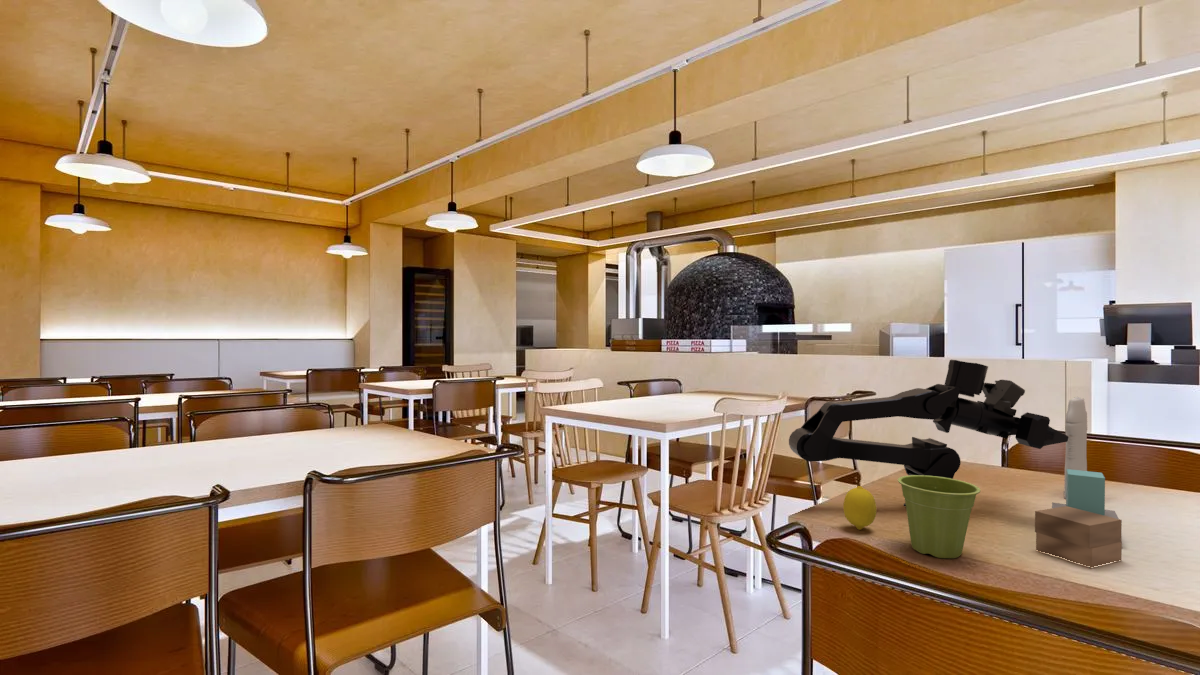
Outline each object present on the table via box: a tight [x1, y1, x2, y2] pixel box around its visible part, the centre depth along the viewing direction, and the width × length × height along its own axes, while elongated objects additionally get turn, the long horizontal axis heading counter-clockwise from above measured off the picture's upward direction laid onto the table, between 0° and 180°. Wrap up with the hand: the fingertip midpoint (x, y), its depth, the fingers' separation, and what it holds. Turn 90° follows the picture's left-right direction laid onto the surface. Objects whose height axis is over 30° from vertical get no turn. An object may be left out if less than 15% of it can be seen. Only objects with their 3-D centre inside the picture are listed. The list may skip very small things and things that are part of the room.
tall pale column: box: [1063, 396, 1088, 500], centre depth 131 cm, size 11×4×22 cm, turn 127°
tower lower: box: [1035, 532, 1123, 567], centre depth 96 cm, size 8×8×4 cm
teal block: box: [1065, 469, 1106, 516], centre depth 106 cm, size 5×5×7 cm
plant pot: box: [897, 475, 981, 559], centre depth 98 cm, size 12×12×11 cm
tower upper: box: [1034, 506, 1122, 548], centre depth 96 cm, size 8×8×4 cm
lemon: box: [842, 485, 877, 530], centre depth 109 cm, size 6×6×8 cm
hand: (1050, 434), depth 119 cm, fingers open, 9 cm apart
